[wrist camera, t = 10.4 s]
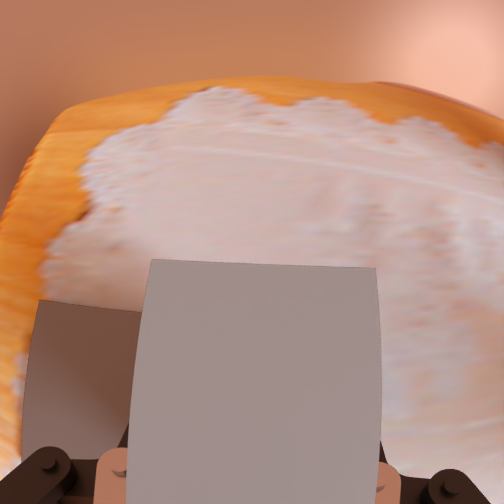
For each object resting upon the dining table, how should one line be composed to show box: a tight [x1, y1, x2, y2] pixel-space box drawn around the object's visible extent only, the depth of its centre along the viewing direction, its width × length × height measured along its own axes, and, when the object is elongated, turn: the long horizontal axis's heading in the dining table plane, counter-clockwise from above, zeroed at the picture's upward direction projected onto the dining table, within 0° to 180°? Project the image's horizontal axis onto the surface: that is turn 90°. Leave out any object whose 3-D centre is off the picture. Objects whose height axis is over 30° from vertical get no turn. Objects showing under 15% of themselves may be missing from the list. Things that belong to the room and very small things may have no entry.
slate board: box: [22, 300, 142, 462], centre depth 16 cm, size 20×12×1 cm, turn 87°
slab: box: [126, 259, 382, 504], centre depth 9 cm, size 8×4×11 cm, turn 177°
